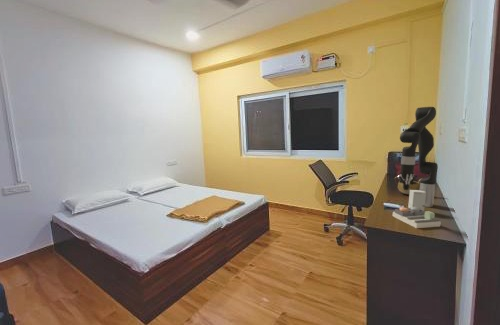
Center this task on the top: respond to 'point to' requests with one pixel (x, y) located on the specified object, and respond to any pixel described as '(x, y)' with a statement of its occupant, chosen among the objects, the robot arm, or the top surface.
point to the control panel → (416, 219)
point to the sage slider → (429, 215)
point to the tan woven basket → (412, 186)
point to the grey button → (415, 209)
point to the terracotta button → (404, 209)
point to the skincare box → (417, 199)
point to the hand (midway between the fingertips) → (405, 189)
